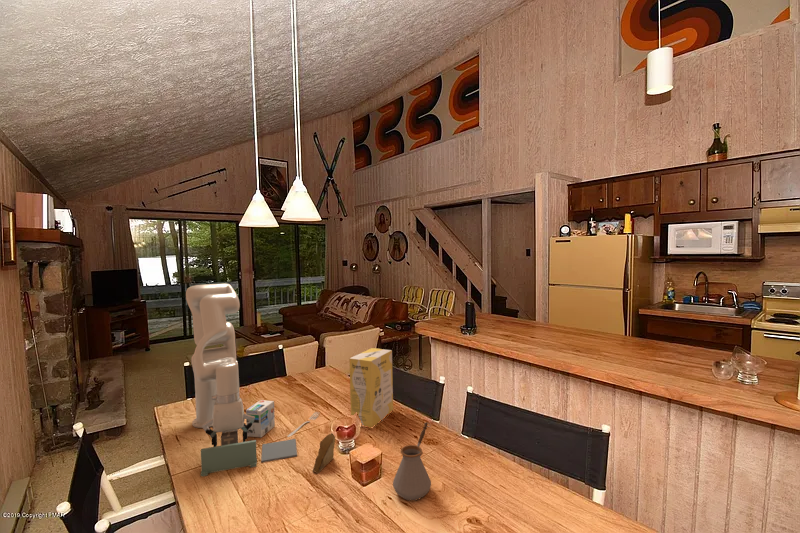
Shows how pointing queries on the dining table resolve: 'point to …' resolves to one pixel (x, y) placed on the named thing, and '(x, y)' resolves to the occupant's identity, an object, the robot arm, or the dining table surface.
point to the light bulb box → (261, 418)
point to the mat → (279, 450)
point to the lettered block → (229, 437)
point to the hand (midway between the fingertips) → (230, 443)
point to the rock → (325, 453)
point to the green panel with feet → (228, 457)
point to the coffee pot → (412, 472)
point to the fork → (302, 425)
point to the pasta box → (371, 385)
